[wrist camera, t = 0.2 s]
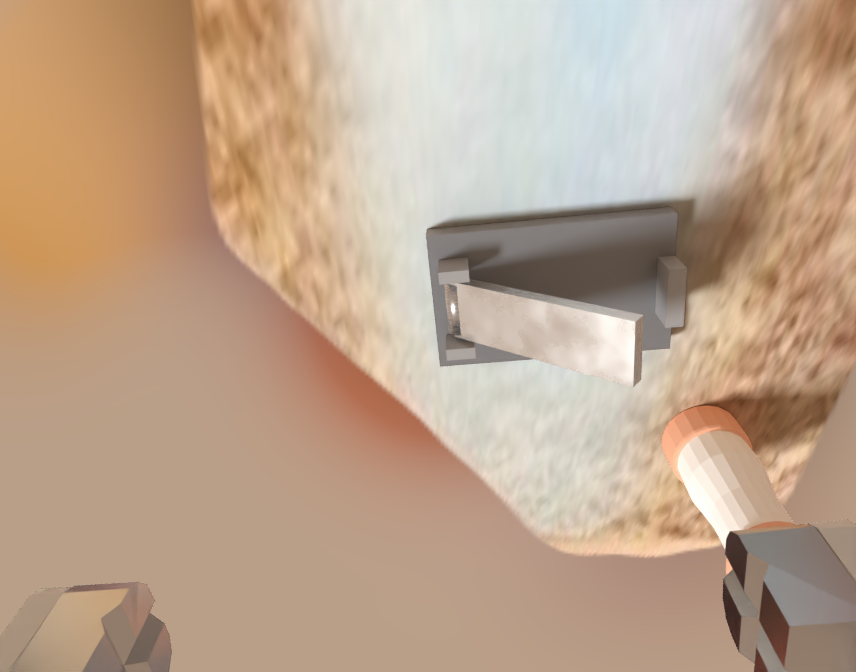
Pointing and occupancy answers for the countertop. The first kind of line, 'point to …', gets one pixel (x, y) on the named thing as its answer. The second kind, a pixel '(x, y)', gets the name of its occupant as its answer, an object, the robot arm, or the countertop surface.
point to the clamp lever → (548, 329)
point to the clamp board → (565, 270)
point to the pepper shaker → (722, 472)
